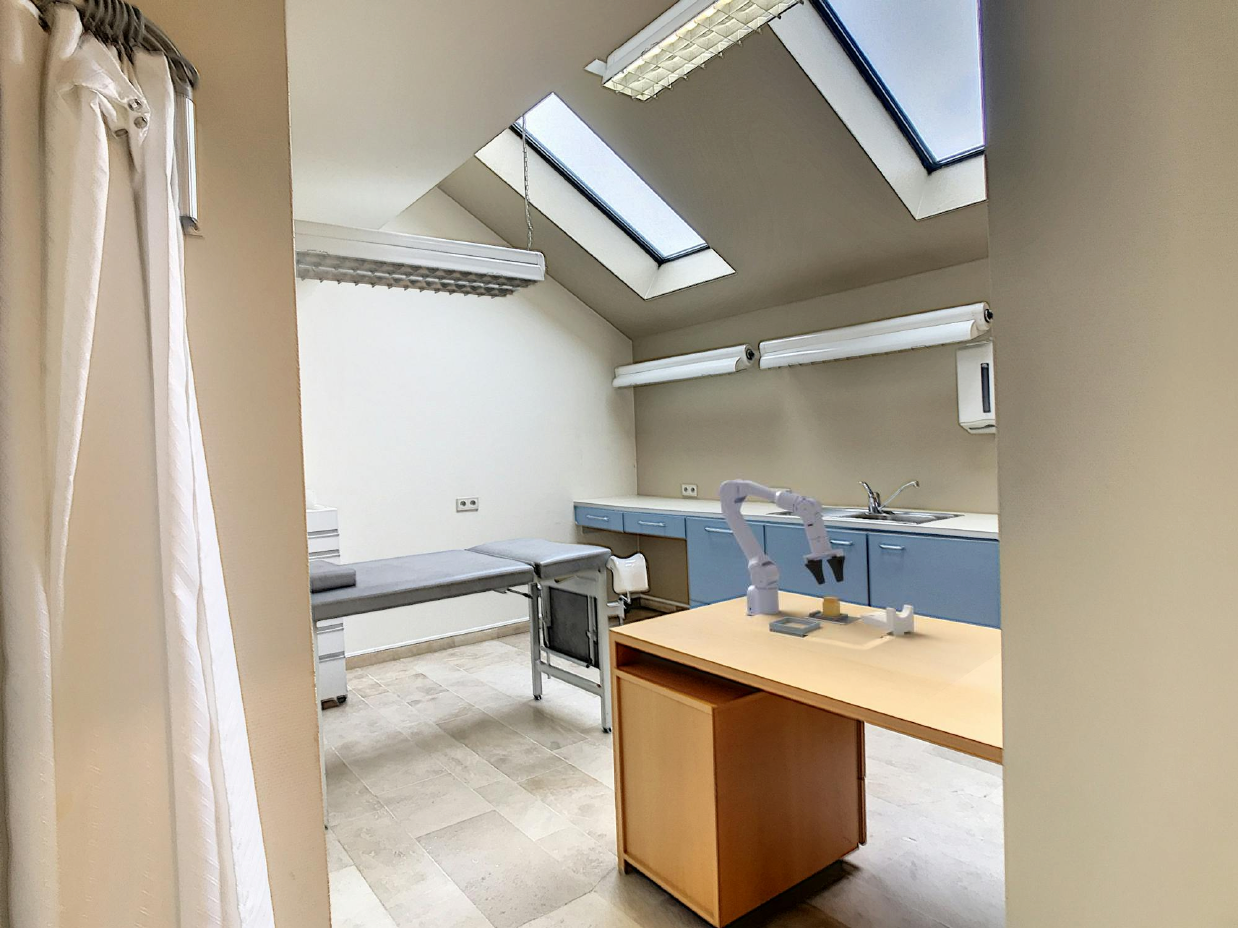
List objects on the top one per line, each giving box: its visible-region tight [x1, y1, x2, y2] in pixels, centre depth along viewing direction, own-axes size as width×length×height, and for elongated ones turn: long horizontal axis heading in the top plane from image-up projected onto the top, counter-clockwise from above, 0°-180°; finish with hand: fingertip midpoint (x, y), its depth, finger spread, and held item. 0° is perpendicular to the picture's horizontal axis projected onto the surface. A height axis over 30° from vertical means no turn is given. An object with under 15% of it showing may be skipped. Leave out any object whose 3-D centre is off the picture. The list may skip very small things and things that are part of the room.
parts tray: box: [768, 616, 821, 638], centre depth 202 cm, size 11×9×2 cm
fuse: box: [822, 596, 841, 617], centre depth 210 cm, size 4×4×6 cm
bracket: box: [860, 604, 915, 637], centre depth 199 cm, size 13×7×8 cm, turn 21°
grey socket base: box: [802, 609, 861, 626], centre depth 210 cm, size 14×10×2 cm
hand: (831, 582), depth 209 cm, fingers open, 7 cm apart
